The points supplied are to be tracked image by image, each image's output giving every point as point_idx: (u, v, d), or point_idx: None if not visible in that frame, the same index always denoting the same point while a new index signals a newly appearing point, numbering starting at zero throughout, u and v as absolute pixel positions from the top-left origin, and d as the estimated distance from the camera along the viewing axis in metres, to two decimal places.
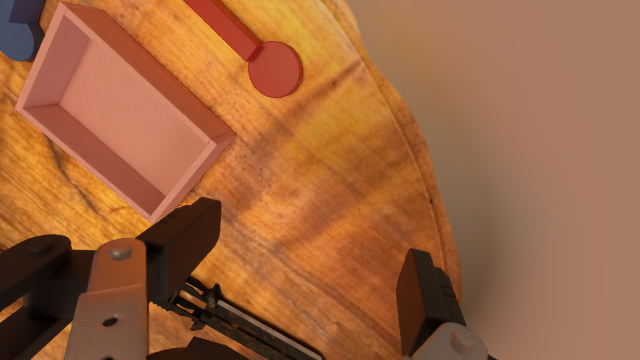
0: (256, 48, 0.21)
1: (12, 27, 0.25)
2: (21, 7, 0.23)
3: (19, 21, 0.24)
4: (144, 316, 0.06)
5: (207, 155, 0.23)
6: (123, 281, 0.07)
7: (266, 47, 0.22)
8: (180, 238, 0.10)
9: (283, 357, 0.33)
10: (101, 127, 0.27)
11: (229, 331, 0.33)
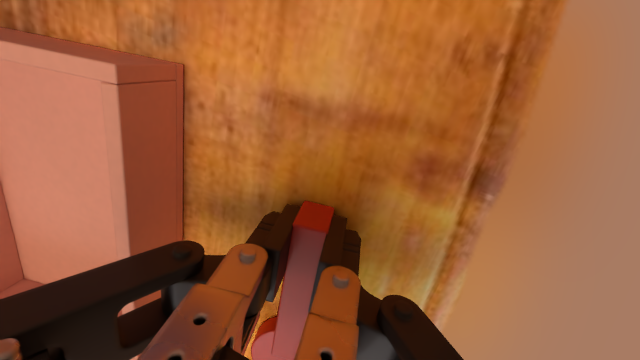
0: None
1: None
2: None
3: None
4: (225, 330, 0.06)
5: None
6: (235, 285, 0.08)
7: None
8: (285, 243, 0.11)
9: None
10: (10, 137, 0.14)
11: None
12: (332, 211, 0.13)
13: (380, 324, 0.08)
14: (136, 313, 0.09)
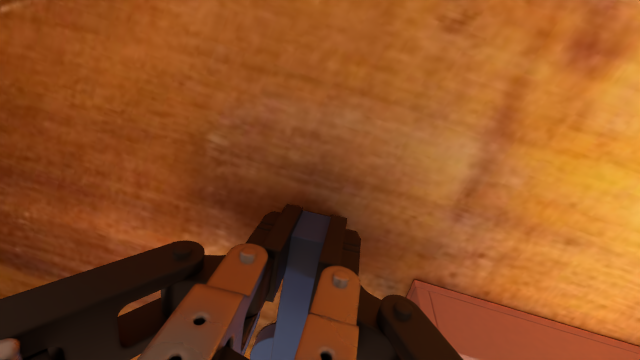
0: None
1: None
2: None
3: None
4: (226, 330, 0.06)
5: None
6: (235, 285, 0.08)
7: None
8: (285, 243, 0.11)
9: None
10: None
11: None
12: None
13: (380, 324, 0.08)
14: (136, 313, 0.09)
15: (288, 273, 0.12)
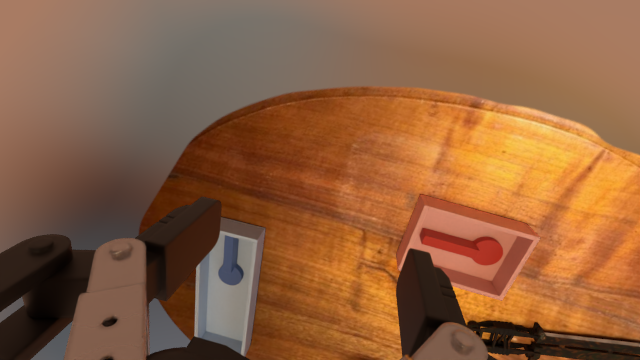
0: (478, 250, 0.39)
1: None
2: (233, 263, 0.47)
3: (233, 269, 0.48)
4: (145, 316, 0.06)
5: None
6: (123, 281, 0.07)
7: (479, 245, 0.40)
8: (180, 238, 0.10)
9: (611, 355, 0.43)
10: (433, 256, 0.43)
11: (559, 352, 0.44)
12: (422, 229, 0.41)
13: None
14: None
15: (225, 242, 0.45)
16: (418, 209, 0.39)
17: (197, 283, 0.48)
